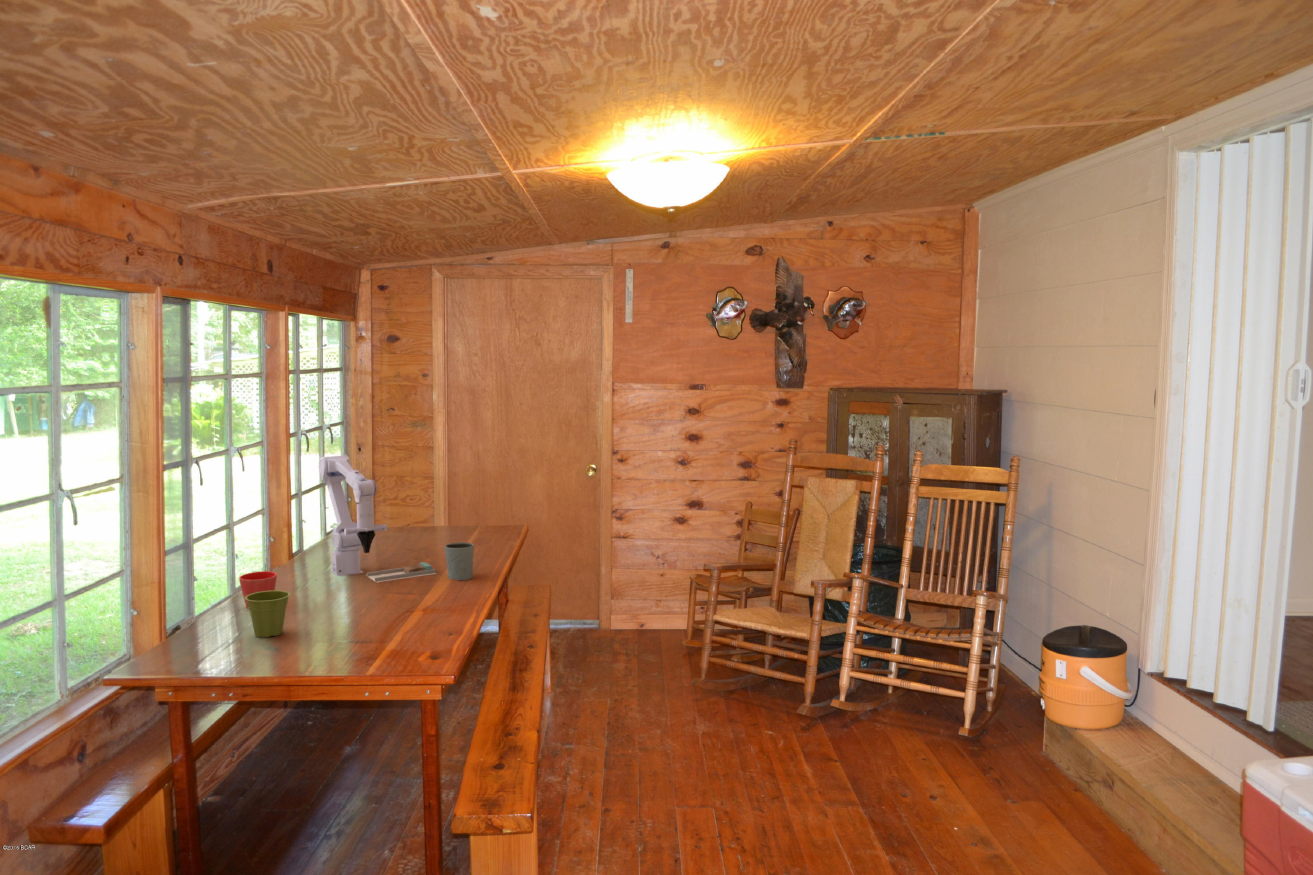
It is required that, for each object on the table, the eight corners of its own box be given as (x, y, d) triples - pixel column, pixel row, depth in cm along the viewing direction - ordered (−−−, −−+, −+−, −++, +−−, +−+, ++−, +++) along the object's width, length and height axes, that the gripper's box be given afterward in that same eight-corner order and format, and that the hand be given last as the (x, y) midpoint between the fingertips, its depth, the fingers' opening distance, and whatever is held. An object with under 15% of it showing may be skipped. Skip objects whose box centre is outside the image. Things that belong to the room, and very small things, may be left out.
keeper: (408, 574, 316) (408, 569, 316) (404, 572, 320) (403, 566, 320) (424, 572, 320) (424, 567, 320) (419, 569, 324) (419, 564, 324)
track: (376, 583, 306) (376, 575, 306) (365, 576, 316) (365, 568, 315) (436, 574, 319) (436, 566, 319) (424, 568, 329) (424, 560, 328)
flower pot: (260, 611, 273) (258, 580, 272) (232, 607, 276) (231, 577, 275) (285, 602, 282) (284, 572, 282) (258, 599, 286) (257, 570, 285)
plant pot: (289, 638, 246) (287, 599, 245) (243, 642, 243) (241, 602, 242) (294, 626, 258) (292, 588, 257) (249, 629, 254) (248, 591, 253)
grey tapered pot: (467, 582, 308) (466, 548, 307) (440, 580, 310) (439, 547, 309) (478, 575, 318) (478, 542, 317) (452, 573, 320) (452, 541, 319)
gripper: (347, 518, 302) (349, 557, 303) (389, 514, 310) (390, 551, 311) (341, 515, 307) (343, 553, 308) (383, 511, 316) (384, 548, 317)
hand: (366, 552), depth 310 cm, fingers closed
